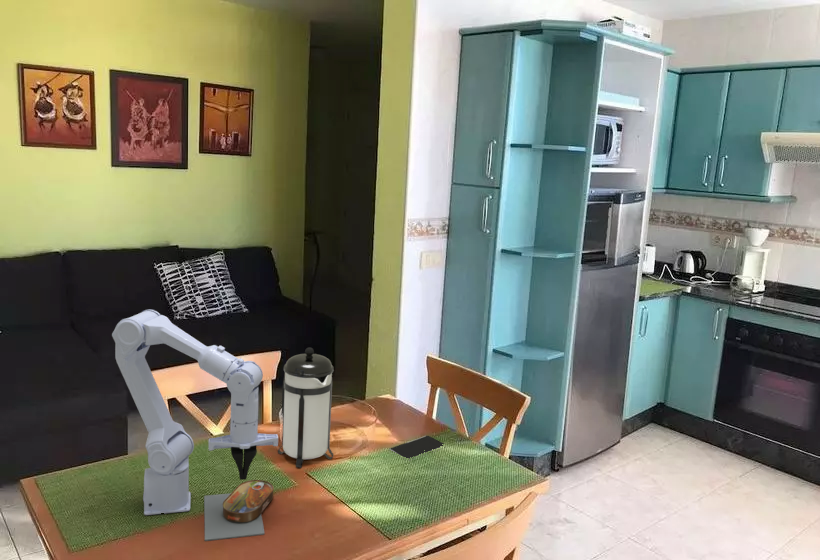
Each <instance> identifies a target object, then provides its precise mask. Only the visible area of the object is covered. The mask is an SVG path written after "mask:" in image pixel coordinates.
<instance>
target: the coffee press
mask: <svg viewBox="0 0 820 560" xmlns="http://www.w3.org/2000/svg"><path fill="white" fill-rule="evenodd" d="M334 368H335V367H334V366H333V365H332V362H331V360H330V359H329V358H327V357H326V356H324V355H321V354H317V353H315V351H314V348H312V347H307V348H306V349H305V351H304V353H300V354H296V355H293V356H291V357H290V358H288V360H287V361H286V363H285V364H284V365H283V371H284V376H283V379H282V390H281V391H282V392H281V395H282V396H281V397H282V398H281V414H282V440H281V441H282V442H281V445H280V447H279V448H278V450H277V454H279V455H283V454H284V453H285V454H286V455H288V456H289V457H291V458H293V459H296V463H295V468H299V469H302V467H303V463H304V460H312V459H317V458H320V457H322V456H324V457H325V458H326V459H327V460H329V461H331V460H332V459H333V458H334V453H333V451H332V449H331V448H330V447H331V446H330V445H331V443H330V441H331V421H332V420H331V418H332V416H331V415H332V396H333V392H332V391H333V377H332V376H333V373H334V371H335V370H334ZM281 448H282V449H283V451H281V450H280V449H281ZM327 451H328V453H329V454H330V455H328V453H327Z"/></svg>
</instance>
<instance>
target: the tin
mask: <svg viewBox="0 0 820 560" xmlns="http://www.w3.org/2000/svg"><path fill="white" fill-rule="evenodd" d="M274 488H275V487H274V485H273V484H272V483H270V481H266V480H261V479H252V480H251V479H250V480H247V481H244V482H241V483H240V484H239V485H237V486H236V488H235V489H233V491H232V492H231V494H230V495H229V496H228V497H227V498H226V499H225V500H224V502H223V515H224V517H225V518H226V519H227V520H230V521H234V522H249V521H252V520H254V519H256V518H257V517H258V516H259V515H260V514H261V515H262V513H263V512H264V510H265V509H266V508H267V506H268V505H269V504H270V503H271V502H272V500H273V497H274Z"/></svg>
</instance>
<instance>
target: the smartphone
mask: <svg viewBox="0 0 820 560" xmlns="http://www.w3.org/2000/svg"><path fill="white" fill-rule="evenodd" d="M442 444H445V443H444V442H442V441H440V440H439V439H436V438H434V437H432V436H430V435H424V436H422V437H419V438H416V439H413V440H410V441H407V442H405V443H402V444H398V445H396V446H393V447H390V448H389V450H391V451H393V452H395V453H397V454H399V455H401V456H403V457H406V458H409V459H410V457H411V458H412V457H413V456H414V457H415V456H418V455H419V454H420V455H421V453H422V454H423V453H424V452H425V453H426V452H428V451H432V449H433V450H434V449H437V448H440V446H443V445H442ZM389 450H388V451H389ZM424 450H425V451H424Z"/></svg>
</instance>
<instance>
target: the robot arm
mask: <svg viewBox="0 0 820 560" xmlns="http://www.w3.org/2000/svg"><path fill="white" fill-rule="evenodd" d="M111 337H112V339H113V341H114V343H115V347H114V348H115V349H114V350H115V352H114V353H115V354H114V355H115V357H114V358H115V360H116V361H115V362H116V364H117V366H118V368H119V371H120V373H121V375H122V377H123V379H124V381H125V384H126V386H127V388H128V390H129V393H130V395H131V397H132V399H133V401H134V403H135V406H136V408H137V410H138V412H139V415H140V416H141V419H142V421H143V423H144V426H145V427H146V430H147V432H148V435H147V439H146V442H145V449H146V451H147V460H148V461H147V463H148V465H149V467H148V468H147V467H146V468H145V469H144V477H143V495H142V496H143V497H142V501H143V510H144V511H143V515H144V516H152V515H153V516H154V515H162V514H161V513H164V514H172V513H182V512H183V513H184V512H189V511H191V496H192V493H191V492H190V491H189V487H190V485H189V481H190V479H189V478H190V476H189V475H190V474H189V473H190V472H189V471H190V469H189V467H190V464H189V463H190V462H189V456H190V455H191V454H192V453H193V451H194V449H195V444H194V443H195V442H194V440H193V438H192V436H191V435H190V434H188V433H187V432H186V431H185V428H184V427H183V425H182V424H181V423H179V422H176V421H175V420H173V418H172V415H171V413H170V411H169V409H168V407H167V405H166V404H167V403H166V402H165V399H164V397H163V395H162V393H161V391H160V388H159V387H158V384H157V382H156V380H155V378H154V376H153V373H152V371H151V368H150V366H149V364H148V362H147V359H146V355H147V353H148V351H149V349H150V346H154V345H155V346H156V345H160V344H161V345H163V344H164V345H167V346H169V347H170V348H172V349H175V350H177V351H179V353H180V352H181V353H182V354H185V355H186V356H189V357H190V358H193V359H195V360H196V361H197V363H198V367H199V369H201V370H203V371H204V372H205V373H208V374H209V375H211V376H212V377H214V378H216V379H217V380H219V381H221V382H223V383H225V384H226V387H227V389H228V391H229V392H230V396H231V397H230V433H229V434H227V435H222V436H217V437H211V438H208V451H210V452H211V451H214V450H218V449H219V450H220V449H230V452H231V453H230V454H231V457H232V458H233V460H234V461H235V464H236V467H237V470H238V474H239V475H238V476H239V480H240V481H242V480H244V481H245V480H247V478H248V473H249V470H250V466H251V465H252V462H253V460H254V459H255V457H256V455H257V452H258V449H257V447H261V446H262V447H263V446H264V447H265V446H273V447H278V445H279V436H278V433H258V431H259V430H258V429H259V428H258V426H259V424H258V423H259V421H258V420H259V385H260V384H261V382H262V381H263V377H264V375H263V374H264V373H263V369H262V368H261V366H259V364H258V363H256V362H255V361H253V360H244V359H243V358H242V357H240V358H238V357H236V356H234V355H233V354H231V353H229V352H228V351H226V350H225V349H226V347H224V346H222V345H219V346H218V345H217V344H213V345H209V346H207V345H205V344H204V343H202V342H201V341H199V340H198V339H196V338H195V337H193V336H191V335H190V334H189V333H187V332H186V331H184V330H183V329H181V328H180V327H178V325H176V324H174V323H172V321H171V320H170V319H169V317H167V316H165V315H163V314H161V313H159V312H158V311H157V310H155V309H145V310H142V311H141V312H139V313H138V314H134V315H133V316H130V317H127V318H122V319H121V320H120V321H118V323H117V324H116V325H115V328H114V330H113V331H112V333H111Z"/></svg>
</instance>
